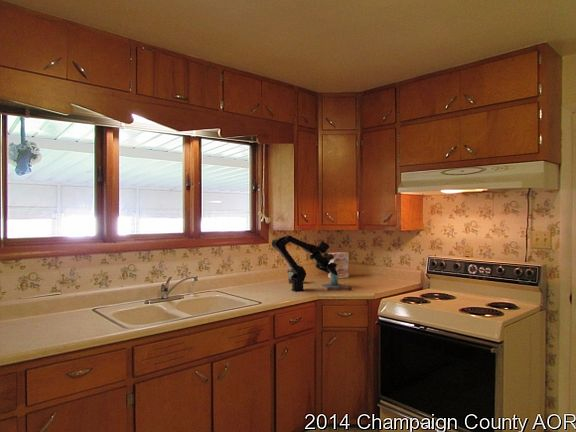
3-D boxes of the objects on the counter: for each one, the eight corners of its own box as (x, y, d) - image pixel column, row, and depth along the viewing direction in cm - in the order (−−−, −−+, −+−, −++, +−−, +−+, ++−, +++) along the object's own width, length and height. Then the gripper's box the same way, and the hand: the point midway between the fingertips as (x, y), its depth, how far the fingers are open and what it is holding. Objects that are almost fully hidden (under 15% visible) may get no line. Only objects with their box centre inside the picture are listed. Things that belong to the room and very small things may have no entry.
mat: (331, 288, 266) (331, 287, 266) (322, 285, 276) (322, 284, 276) (346, 287, 271) (346, 285, 271) (336, 284, 282) (336, 282, 282)
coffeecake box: (333, 279, 304) (333, 253, 304) (328, 277, 310) (327, 252, 310) (349, 277, 311) (349, 252, 311) (343, 276, 318) (343, 251, 317)
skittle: (336, 285, 271) (336, 271, 270) (329, 285, 272) (329, 270, 272) (338, 284, 275) (338, 270, 275) (331, 284, 277) (331, 269, 277)
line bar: (327, 290, 259) (327, 287, 259) (327, 289, 262) (327, 286, 262) (351, 290, 261) (351, 287, 261) (350, 289, 264) (350, 286, 263)
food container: (304, 282, 290) (304, 268, 290) (304, 284, 284) (304, 270, 283) (287, 282, 291) (287, 268, 291) (286, 283, 285) (286, 269, 285)
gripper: (334, 251, 263) (348, 266, 268) (319, 248, 279) (332, 263, 284) (324, 263, 259) (338, 279, 264) (309, 260, 275) (323, 275, 281)
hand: (333, 273), depth 273 cm, fingers open, 9 cm apart
